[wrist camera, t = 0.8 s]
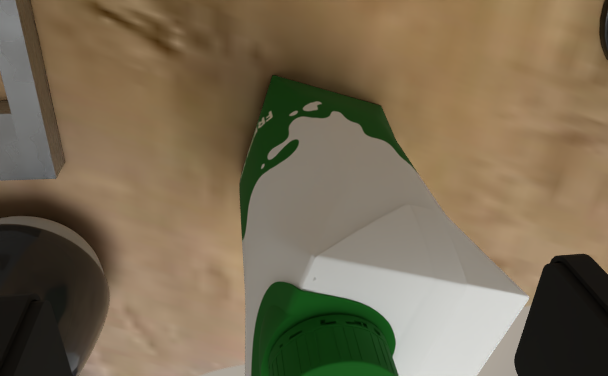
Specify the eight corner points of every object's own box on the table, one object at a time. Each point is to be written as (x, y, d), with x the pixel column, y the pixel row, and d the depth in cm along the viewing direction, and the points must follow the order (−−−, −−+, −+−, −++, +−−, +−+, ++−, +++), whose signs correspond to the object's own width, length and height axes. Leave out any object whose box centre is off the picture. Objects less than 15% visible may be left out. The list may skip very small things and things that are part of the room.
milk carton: (262, 55, 30) (313, 283, 13) (401, 96, 33) (598, 334, 16) (223, 183, 34) (224, 489, 17) (351, 212, 37) (463, 503, 20)
